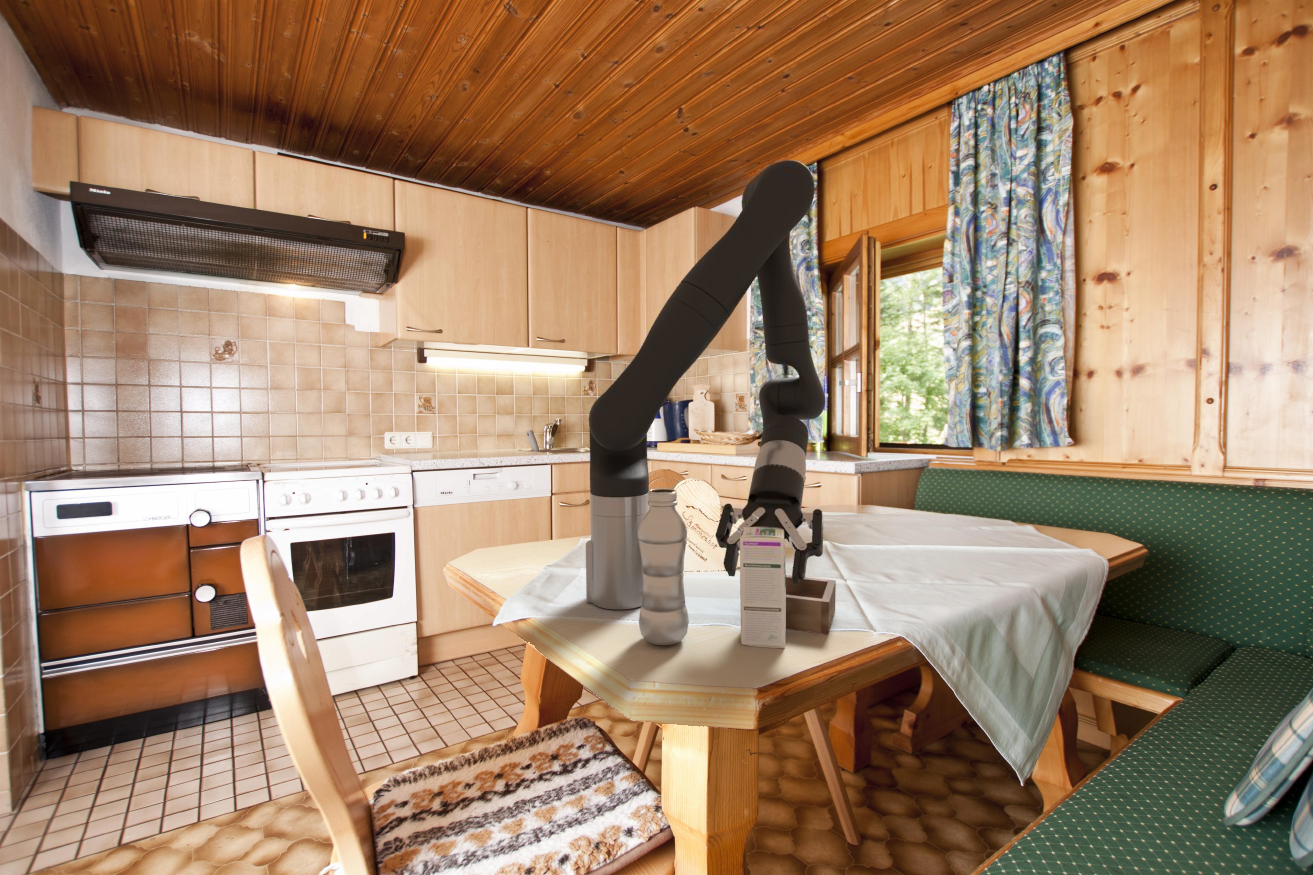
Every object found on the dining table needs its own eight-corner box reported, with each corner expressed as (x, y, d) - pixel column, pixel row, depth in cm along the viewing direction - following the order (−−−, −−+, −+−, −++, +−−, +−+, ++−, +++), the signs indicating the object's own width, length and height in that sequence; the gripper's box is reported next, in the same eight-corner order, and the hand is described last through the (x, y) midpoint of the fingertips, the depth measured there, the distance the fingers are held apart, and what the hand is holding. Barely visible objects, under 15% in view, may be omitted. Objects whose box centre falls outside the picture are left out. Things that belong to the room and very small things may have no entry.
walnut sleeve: (755, 624, 82) (755, 593, 82) (768, 601, 91) (769, 573, 91) (828, 634, 78) (829, 602, 78) (835, 609, 87) (835, 580, 87)
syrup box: (786, 649, 74) (787, 536, 73) (739, 645, 75) (739, 535, 74) (785, 631, 79) (786, 526, 78) (741, 628, 81) (742, 525, 80)
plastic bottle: (699, 640, 77) (698, 490, 75) (663, 656, 72) (662, 496, 71) (664, 626, 81) (663, 485, 80) (628, 641, 76) (626, 491, 75)
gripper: (726, 461, 86) (703, 557, 76) (826, 464, 80) (816, 568, 70) (735, 491, 91) (715, 584, 81) (830, 495, 86) (820, 596, 76)
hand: (762, 577), depth 76 cm, fingers open, 8 cm apart
